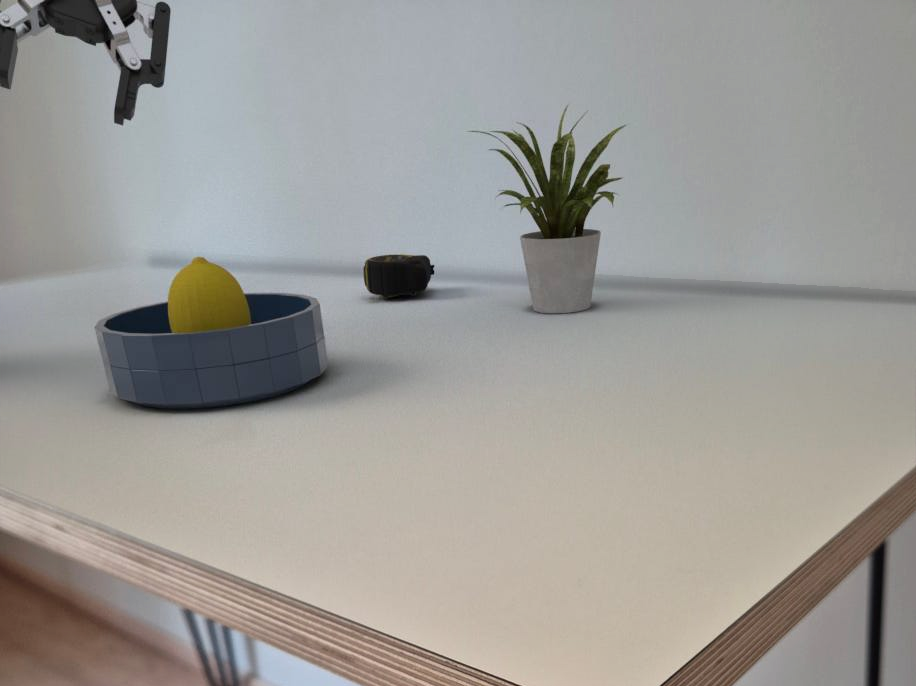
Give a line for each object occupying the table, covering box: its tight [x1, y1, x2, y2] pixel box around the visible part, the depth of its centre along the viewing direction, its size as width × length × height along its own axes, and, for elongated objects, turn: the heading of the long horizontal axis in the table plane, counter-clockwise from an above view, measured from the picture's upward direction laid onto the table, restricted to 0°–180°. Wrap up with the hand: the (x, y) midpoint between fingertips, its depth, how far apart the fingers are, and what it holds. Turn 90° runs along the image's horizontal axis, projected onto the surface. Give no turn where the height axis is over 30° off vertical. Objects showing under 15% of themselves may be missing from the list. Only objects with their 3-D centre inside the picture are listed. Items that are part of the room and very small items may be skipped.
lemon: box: [167, 256, 251, 333], centre depth 67 cm, size 6×6×8 cm
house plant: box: [468, 101, 629, 314], centre depth 83 cm, size 14×14×16 cm
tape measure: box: [363, 254, 435, 300], centre depth 98 cm, size 7×7×4 cm
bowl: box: [94, 292, 329, 410], centre depth 68 cm, size 15×15×5 cm
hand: (62, 101), depth 77 cm, fingers open, 8 cm apart
